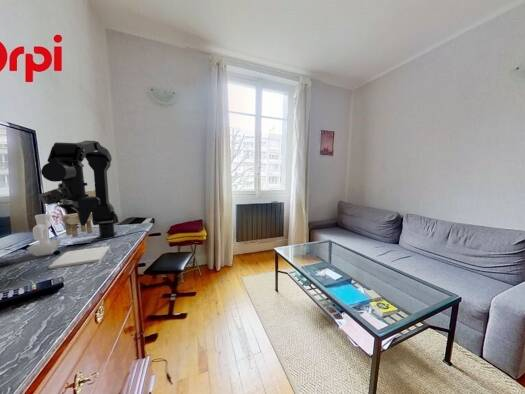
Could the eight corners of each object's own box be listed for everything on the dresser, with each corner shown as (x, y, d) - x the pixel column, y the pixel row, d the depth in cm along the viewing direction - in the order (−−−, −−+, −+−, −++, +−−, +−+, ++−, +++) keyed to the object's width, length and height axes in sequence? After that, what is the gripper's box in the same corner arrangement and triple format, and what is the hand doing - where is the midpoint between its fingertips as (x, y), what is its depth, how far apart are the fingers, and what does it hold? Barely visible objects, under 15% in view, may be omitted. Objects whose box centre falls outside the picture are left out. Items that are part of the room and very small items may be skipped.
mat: (67, 253, 76) (66, 251, 76) (109, 248, 82) (108, 246, 82) (48, 268, 64) (48, 266, 64) (99, 261, 70) (99, 258, 70)
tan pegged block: (64, 234, 71) (62, 215, 70) (85, 230, 76) (83, 212, 75) (73, 237, 68) (70, 217, 67) (94, 232, 73) (92, 213, 72)
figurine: (26, 259, 71) (19, 218, 69) (39, 250, 79) (33, 212, 77) (53, 255, 75) (48, 215, 73) (64, 247, 83) (59, 211, 81)
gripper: (27, 180, 66) (34, 226, 68) (54, 182, 58) (61, 234, 60) (70, 179, 76) (75, 219, 78) (98, 180, 68) (103, 225, 70)
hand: (78, 224), depth 71 cm, fingers closed on tan pegged block, 6 cm apart
